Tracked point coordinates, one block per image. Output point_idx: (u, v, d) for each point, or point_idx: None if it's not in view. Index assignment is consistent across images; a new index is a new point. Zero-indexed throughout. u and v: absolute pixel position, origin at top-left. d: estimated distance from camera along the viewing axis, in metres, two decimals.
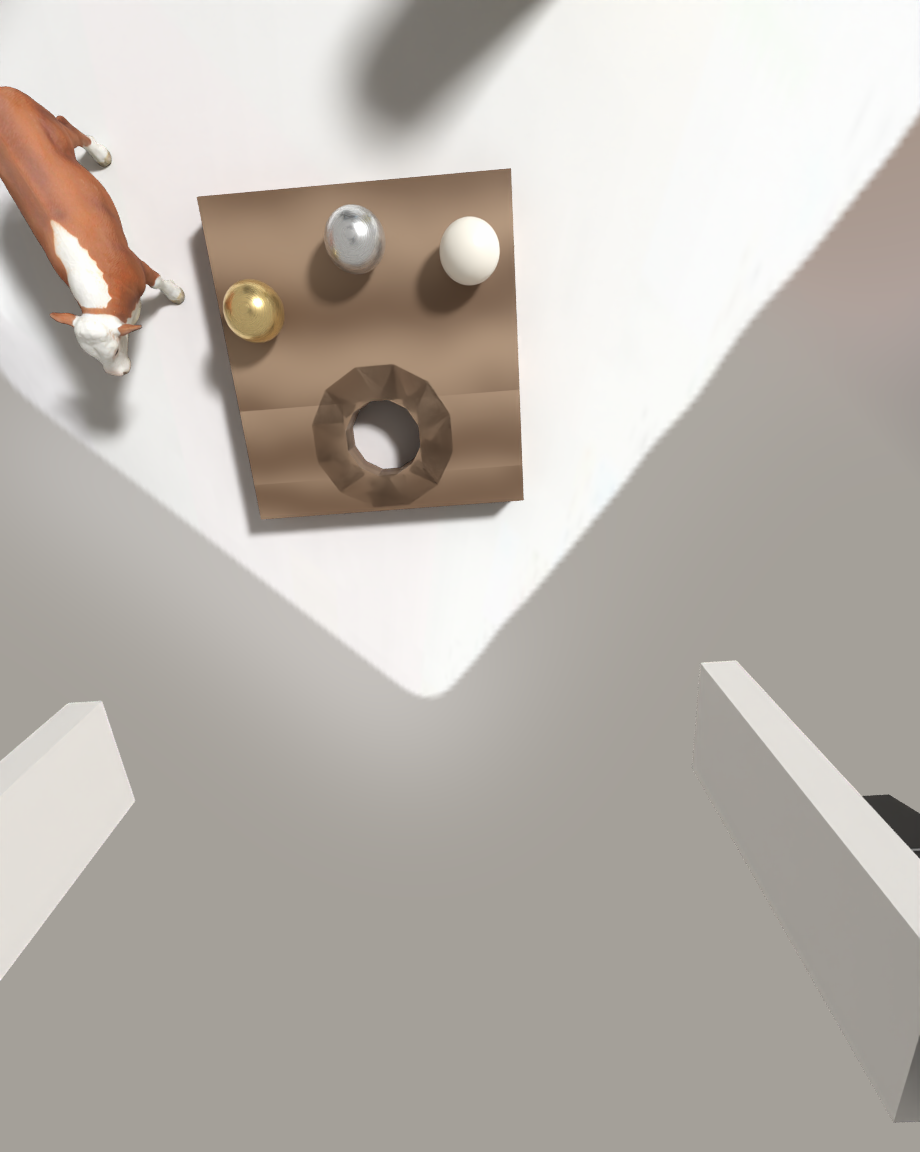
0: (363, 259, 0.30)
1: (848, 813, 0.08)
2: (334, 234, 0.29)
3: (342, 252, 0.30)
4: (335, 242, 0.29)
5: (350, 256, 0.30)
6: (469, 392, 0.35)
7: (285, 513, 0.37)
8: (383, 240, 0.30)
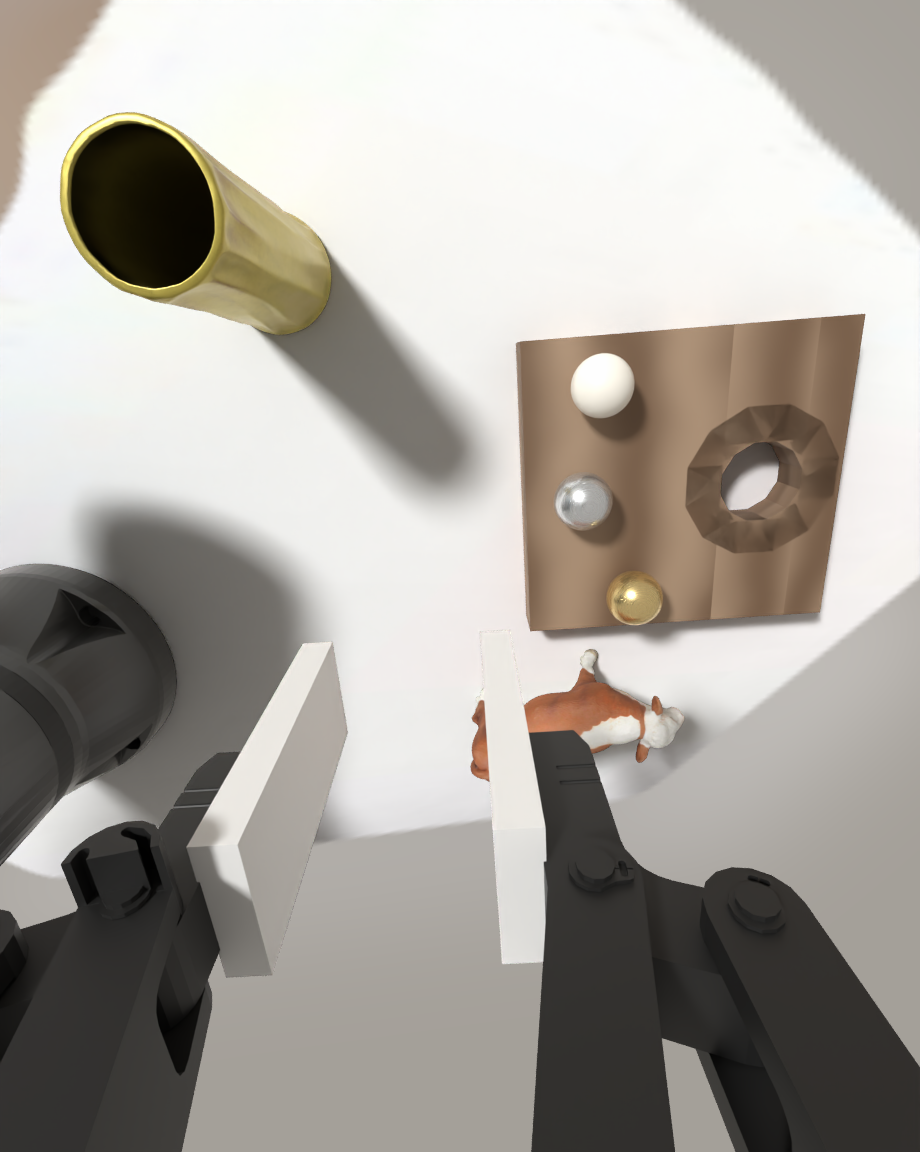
0: (607, 495, 0.31)
1: (507, 737, 0.10)
2: (586, 521, 0.31)
3: (601, 515, 0.31)
4: (593, 521, 0.31)
5: (605, 508, 0.31)
6: (728, 384, 0.31)
7: (819, 587, 0.35)
8: (587, 474, 0.31)
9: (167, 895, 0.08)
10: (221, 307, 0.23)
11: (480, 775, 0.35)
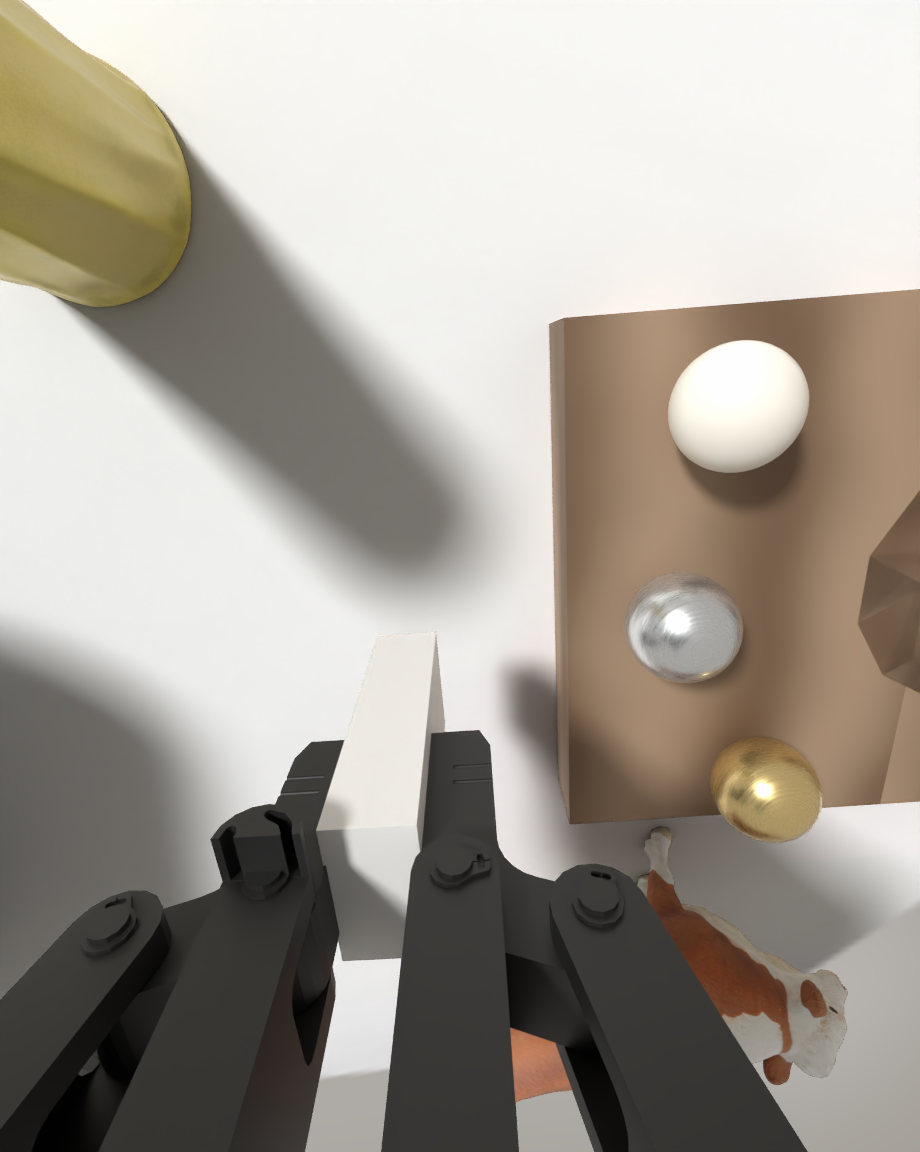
0: (738, 624, 0.15)
1: (404, 738, 0.10)
2: (696, 675, 0.16)
3: (726, 663, 0.16)
4: (708, 674, 0.16)
5: (734, 649, 0.15)
6: None
7: None
8: (696, 580, 0.16)
9: (304, 883, 0.08)
10: None
11: None
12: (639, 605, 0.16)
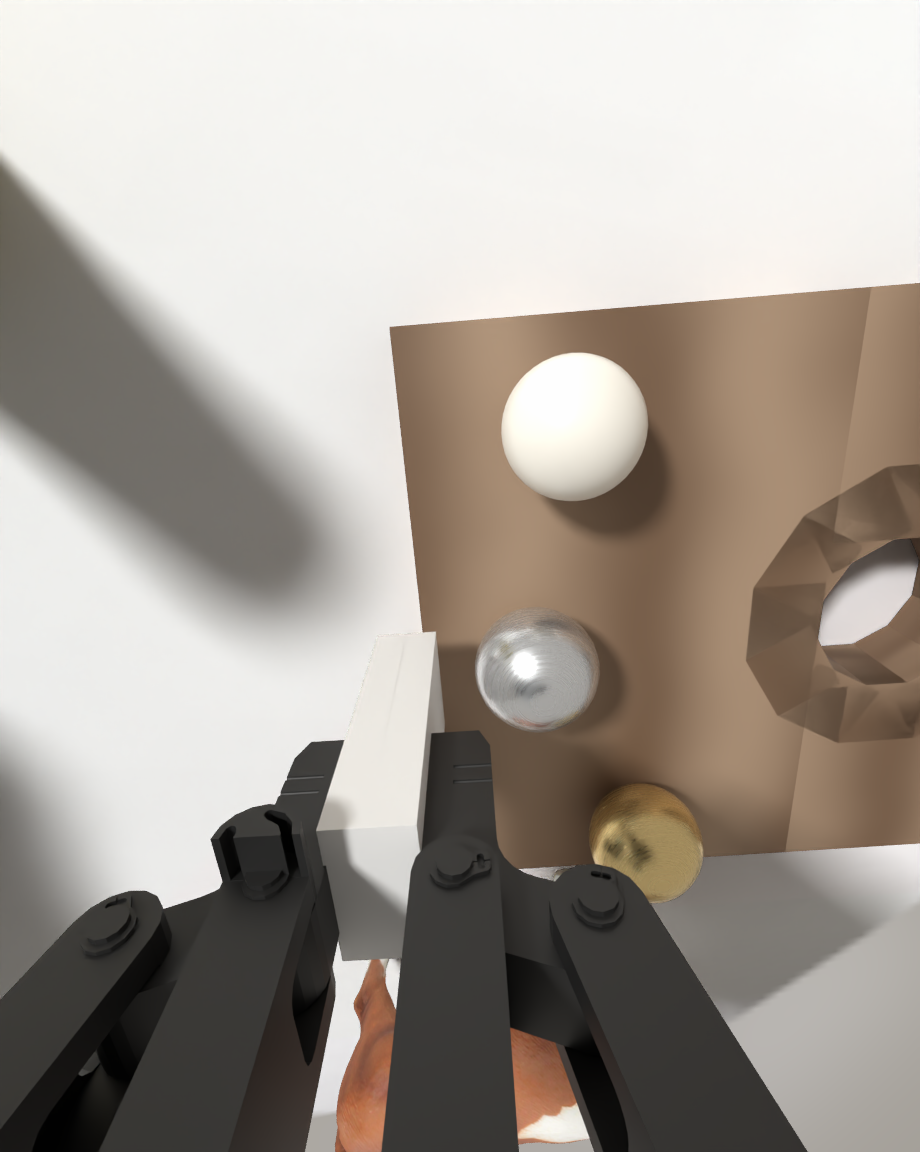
0: (587, 669, 0.14)
1: (404, 737, 0.10)
2: (541, 725, 0.14)
3: (575, 712, 0.14)
4: (556, 724, 0.14)
5: (583, 697, 0.14)
6: (848, 419, 0.14)
7: None
8: (544, 619, 0.14)
9: (304, 883, 0.08)
10: None
11: None
12: (484, 646, 0.15)
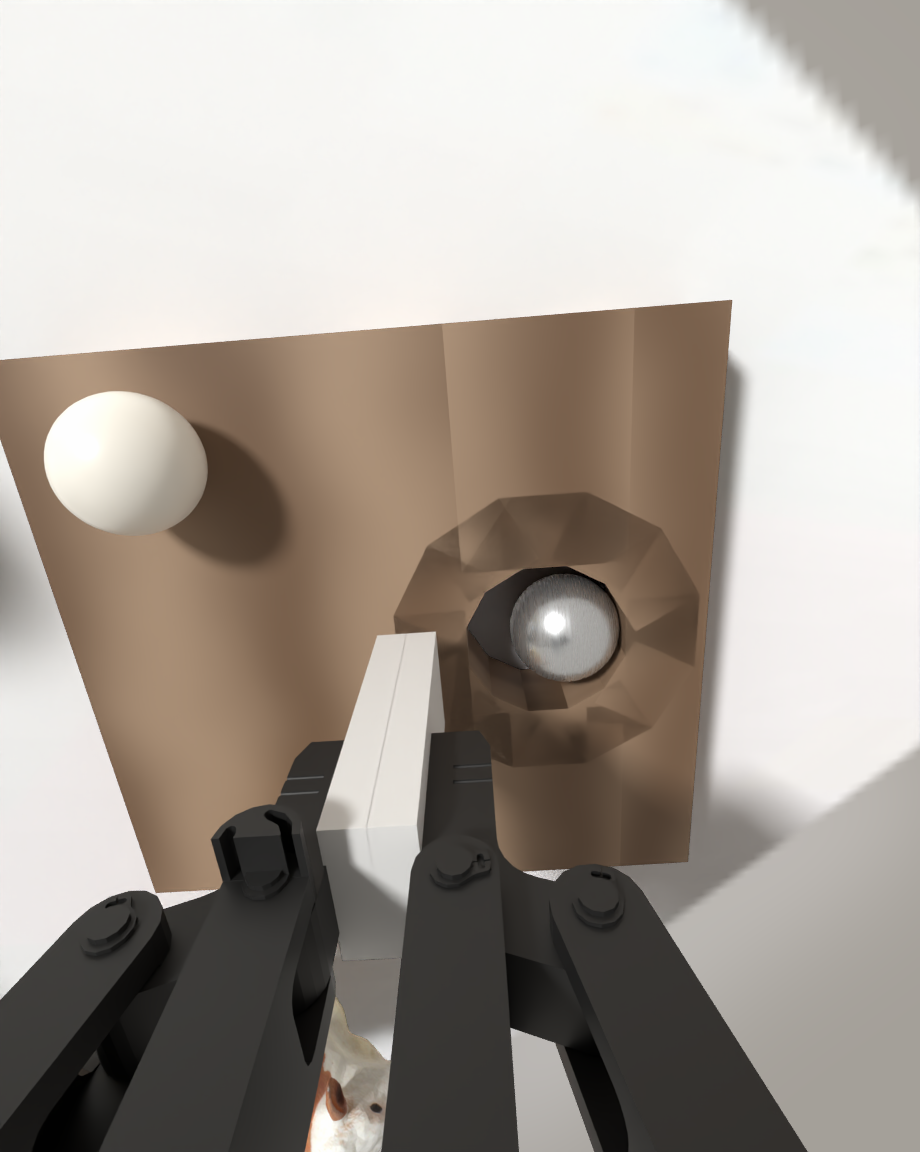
0: None
1: (404, 737, 0.10)
2: None
3: None
4: None
5: None
6: (449, 452, 0.15)
7: (682, 823, 0.19)
8: (574, 576, 0.17)
9: (304, 883, 0.08)
10: None
11: None
12: (578, 618, 0.16)
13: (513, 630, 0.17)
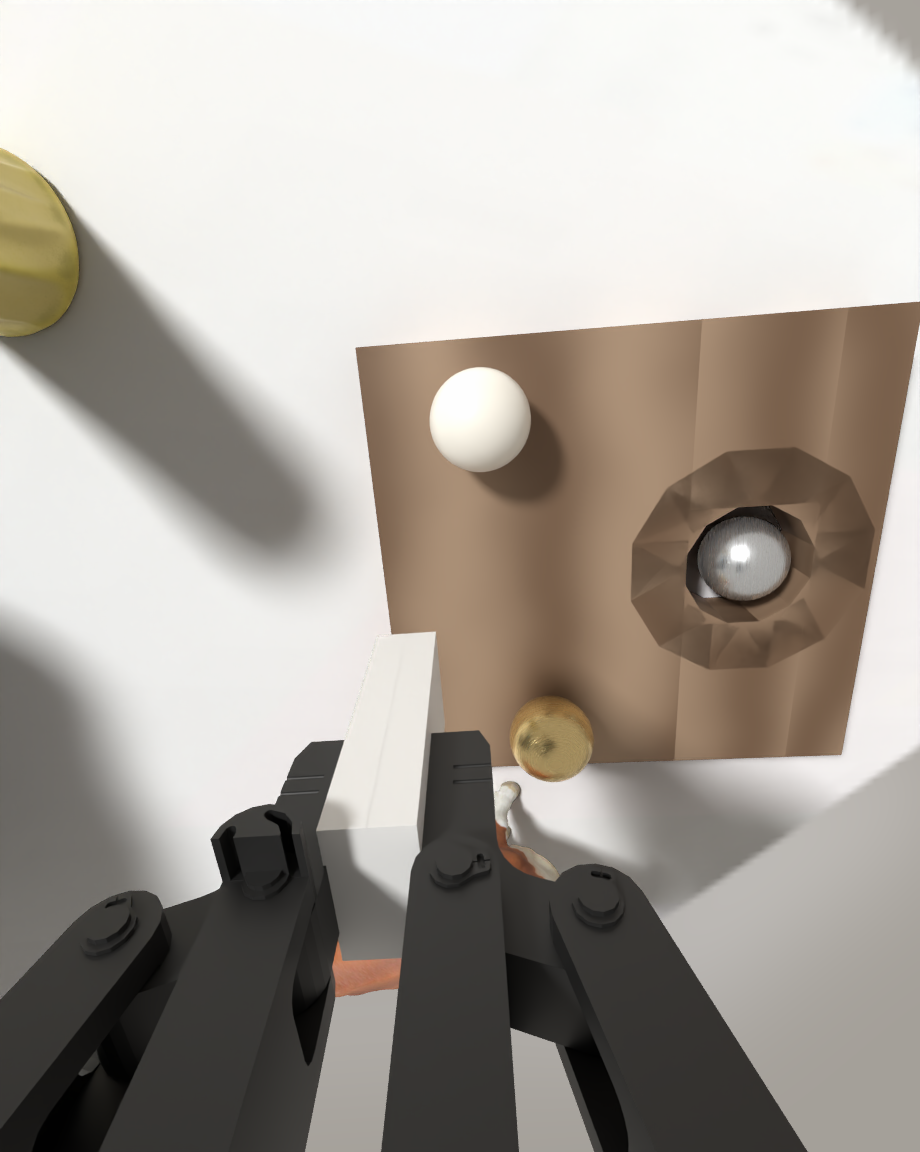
0: None
1: (404, 738, 0.10)
2: None
3: None
4: None
5: None
6: (694, 416, 0.19)
7: (840, 721, 0.23)
8: (756, 518, 0.22)
9: (304, 883, 0.08)
10: None
11: None
12: (753, 547, 0.21)
13: (699, 555, 0.22)
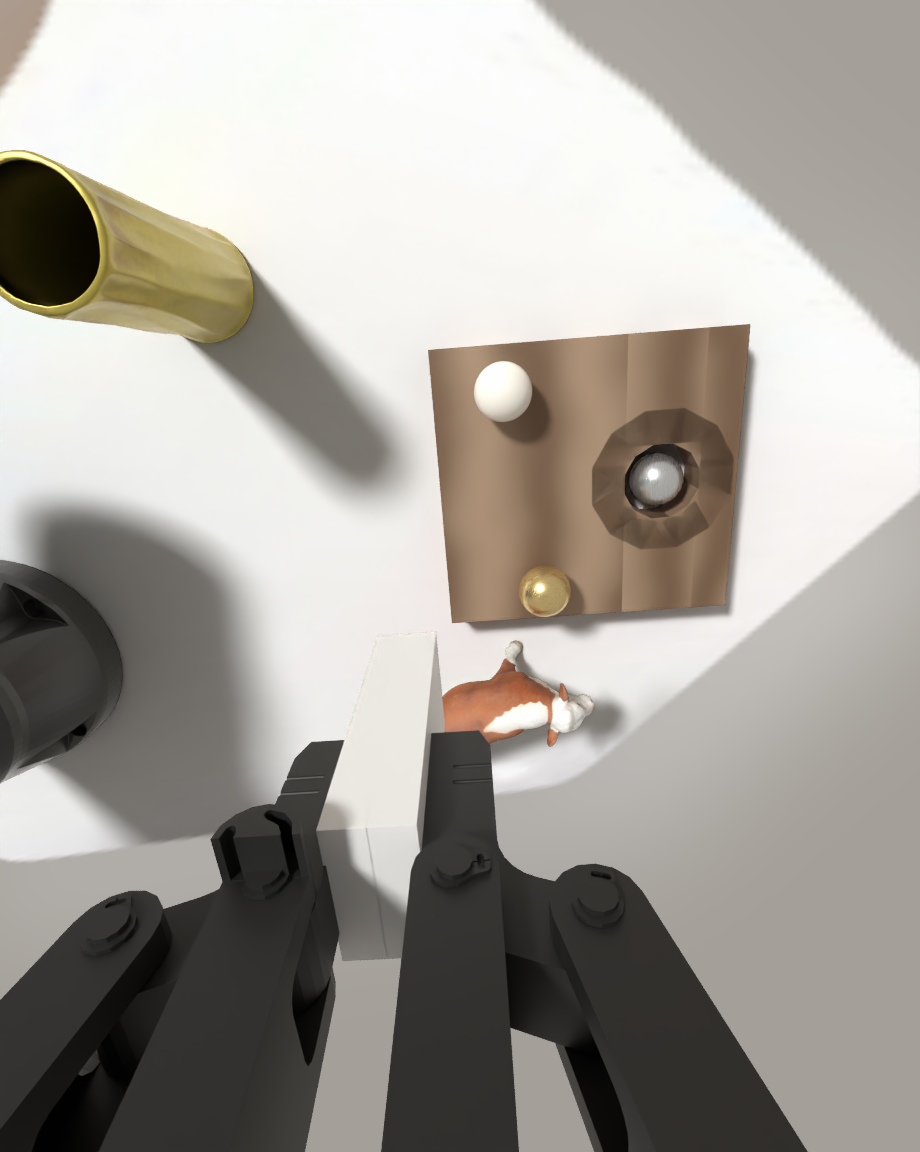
0: None
1: (404, 738, 0.10)
2: (678, 492, 0.36)
3: None
4: None
5: None
6: (625, 390, 0.33)
7: (722, 581, 0.37)
8: None
9: (304, 883, 0.08)
10: (127, 321, 0.25)
11: None
12: (656, 469, 0.35)
13: None
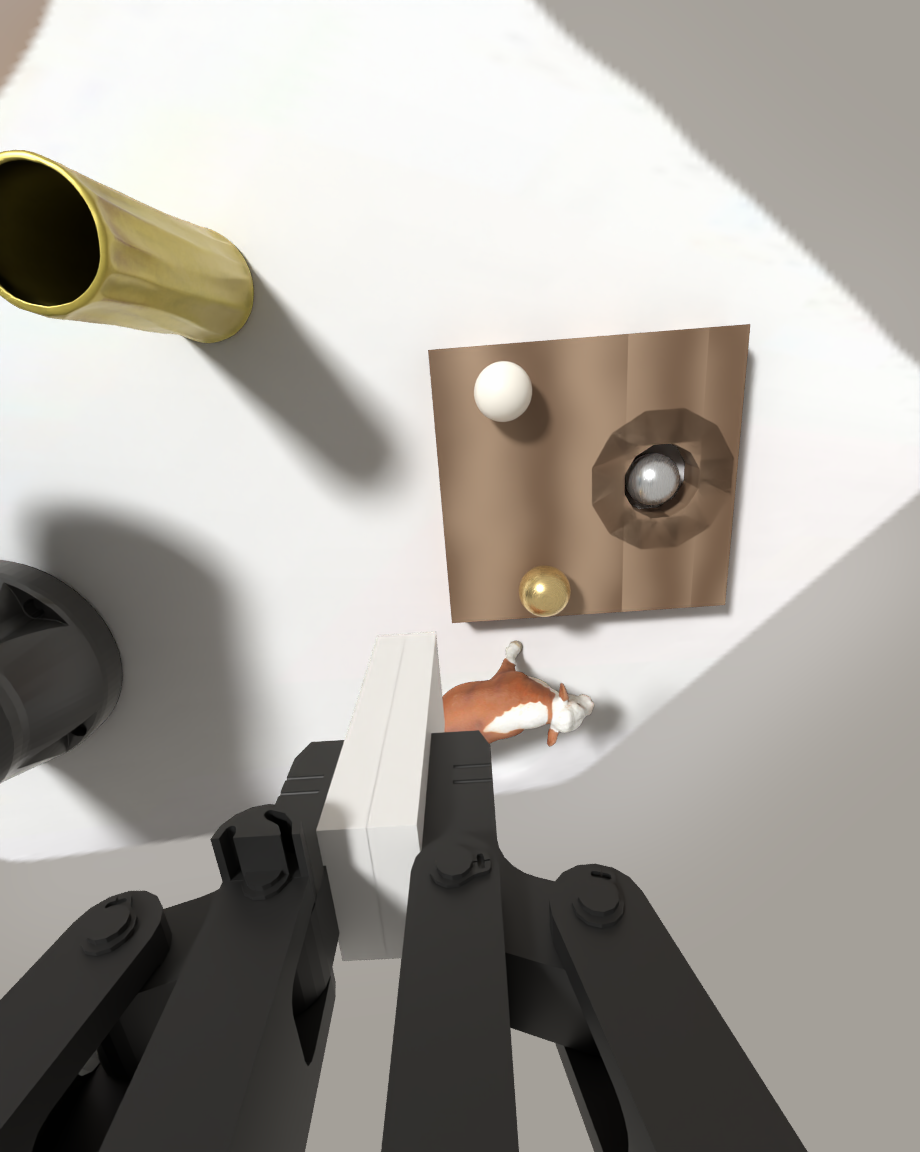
0: None
1: (404, 738, 0.10)
2: (673, 493, 0.35)
3: None
4: (674, 492, 0.36)
5: None
6: (625, 389, 0.33)
7: (722, 581, 0.37)
8: (659, 454, 0.35)
9: (304, 883, 0.08)
10: (127, 321, 0.25)
11: None
12: (649, 469, 0.35)
13: None
